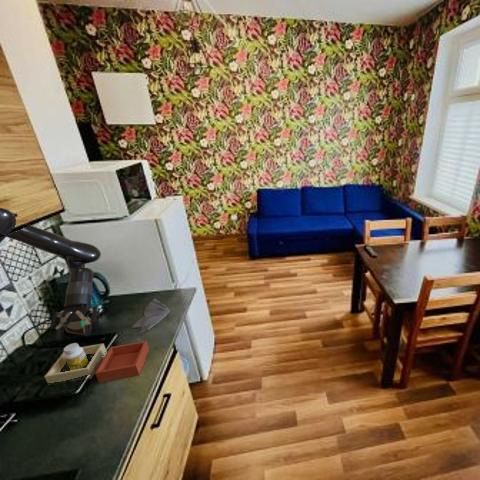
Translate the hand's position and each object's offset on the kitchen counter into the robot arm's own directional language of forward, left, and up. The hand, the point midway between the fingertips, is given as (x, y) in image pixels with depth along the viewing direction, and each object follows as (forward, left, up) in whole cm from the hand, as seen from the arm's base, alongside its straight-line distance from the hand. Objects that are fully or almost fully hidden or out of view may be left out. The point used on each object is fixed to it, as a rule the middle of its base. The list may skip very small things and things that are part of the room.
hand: (73, 338), depth 98 cm
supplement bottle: (0, -3, -12) cm, 12 cm away
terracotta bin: (+16, -6, -12) cm, 21 cm away
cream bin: (0, -3, -12) cm, 12 cm away
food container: (-10, +22, -12) cm, 27 cm away
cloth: (+18, +25, -12) cm, 33 cm away
